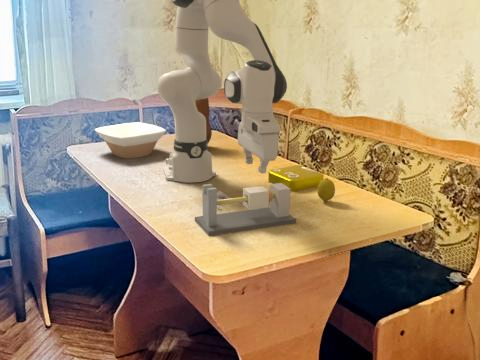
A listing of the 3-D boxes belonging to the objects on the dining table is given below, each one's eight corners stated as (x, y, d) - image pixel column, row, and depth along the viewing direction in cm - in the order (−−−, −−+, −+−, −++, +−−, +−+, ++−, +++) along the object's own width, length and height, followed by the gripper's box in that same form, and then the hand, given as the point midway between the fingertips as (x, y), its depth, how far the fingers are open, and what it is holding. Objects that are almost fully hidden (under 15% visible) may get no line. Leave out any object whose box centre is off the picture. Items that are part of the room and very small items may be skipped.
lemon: (313, 200, 190) (315, 176, 188) (328, 198, 192) (330, 175, 190) (322, 205, 185) (323, 181, 183) (337, 203, 187) (338, 179, 185)
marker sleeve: (242, 204, 172) (243, 188, 171) (261, 202, 174) (261, 186, 173) (249, 209, 168) (249, 193, 166) (268, 207, 170) (269, 191, 169)
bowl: (90, 153, 245) (89, 128, 242) (140, 144, 261) (139, 121, 258) (120, 165, 228) (119, 138, 225) (172, 154, 244) (171, 129, 241)
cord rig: (194, 220, 172) (194, 181, 168) (277, 209, 182) (279, 172, 178) (208, 235, 161) (208, 194, 157) (295, 222, 171) (297, 183, 167)
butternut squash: (176, 147, 256) (174, 90, 249) (204, 144, 262) (203, 88, 255) (188, 154, 244) (187, 94, 237) (217, 151, 250) (217, 92, 243)
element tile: (325, 186, 206) (326, 173, 205) (291, 193, 198) (292, 179, 197) (298, 175, 218) (299, 163, 217) (266, 181, 210) (266, 169, 209)
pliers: (219, 206, 180) (201, 192, 193) (219, 211, 180) (201, 197, 193) (248, 202, 184) (228, 188, 197) (248, 207, 184) (228, 193, 197)
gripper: (232, 113, 172) (232, 159, 176) (261, 129, 154) (259, 179, 158) (252, 112, 174) (251, 157, 178) (283, 127, 156) (280, 177, 160)
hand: (255, 168), depth 168 cm, fingers open, 8 cm apart
